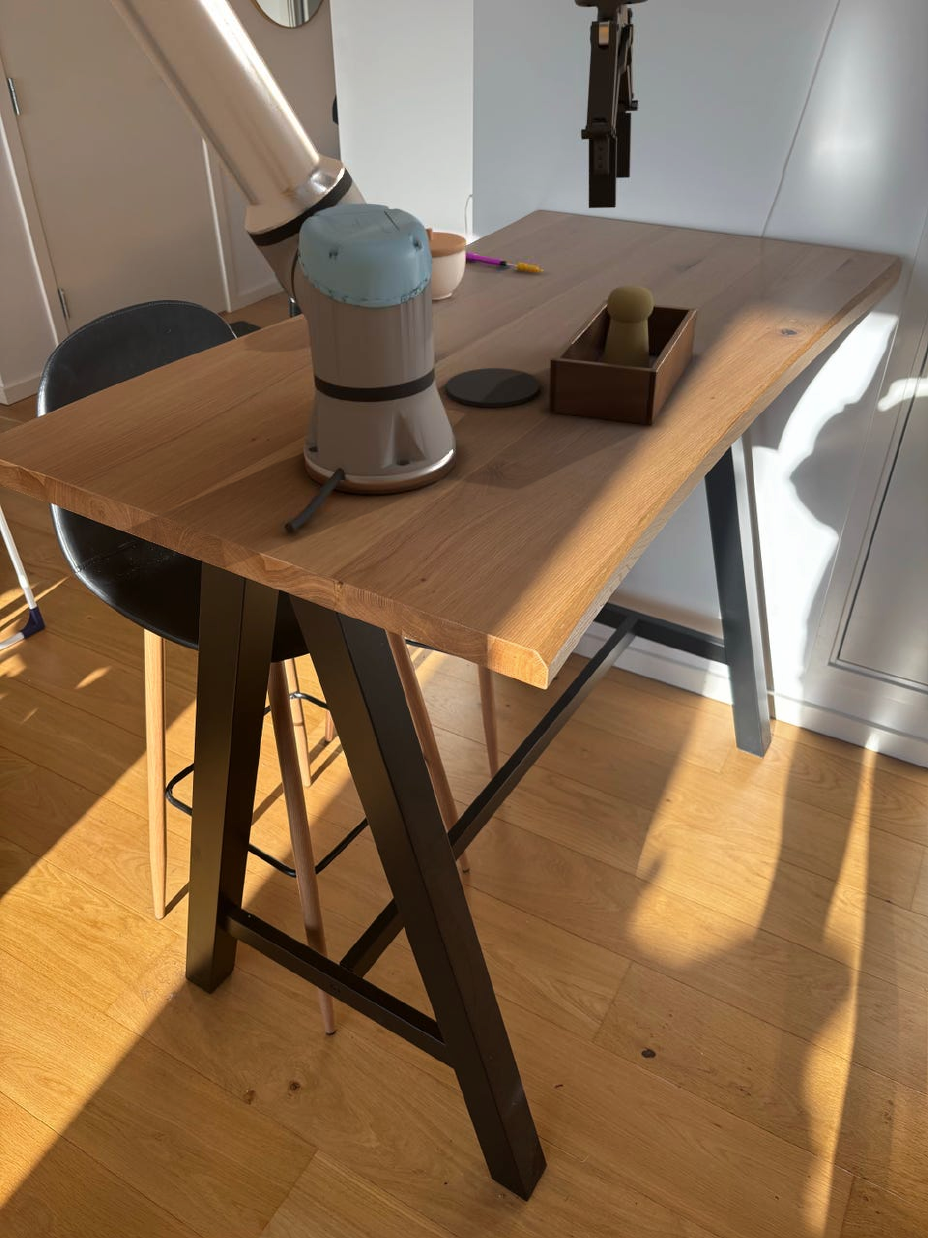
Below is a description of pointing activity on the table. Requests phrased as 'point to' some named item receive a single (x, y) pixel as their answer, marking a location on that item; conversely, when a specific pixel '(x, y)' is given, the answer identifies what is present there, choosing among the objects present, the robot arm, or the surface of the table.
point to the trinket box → (446, 262)
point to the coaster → (493, 387)
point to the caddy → (621, 368)
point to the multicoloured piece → (500, 262)
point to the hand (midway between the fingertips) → (610, 191)
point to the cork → (628, 326)
